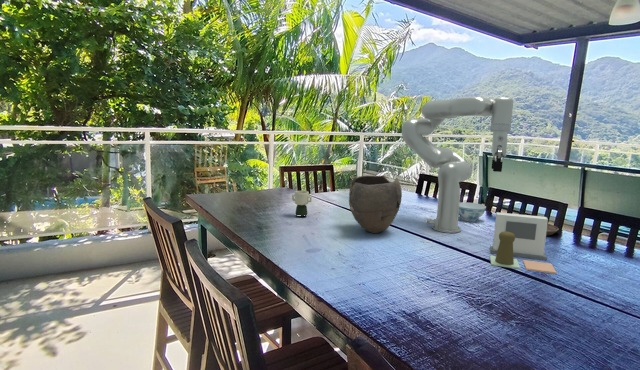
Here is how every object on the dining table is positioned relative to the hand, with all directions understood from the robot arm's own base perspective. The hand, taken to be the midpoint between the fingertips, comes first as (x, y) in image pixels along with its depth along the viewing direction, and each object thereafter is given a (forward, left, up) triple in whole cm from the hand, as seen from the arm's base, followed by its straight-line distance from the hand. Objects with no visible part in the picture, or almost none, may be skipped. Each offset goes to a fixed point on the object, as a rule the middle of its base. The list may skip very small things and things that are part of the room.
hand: (496, 170), depth 160 cm
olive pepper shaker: (+3, -28, -30) cm, 41 cm away
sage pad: (+4, -27, -30) cm, 41 cm away
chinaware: (-8, +35, -31) cm, 47 cm away
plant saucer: (+20, +26, -31) cm, 45 cm away
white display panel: (+9, -15, -30) cm, 35 cm away
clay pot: (-49, -9, -31) cm, 58 cm away
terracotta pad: (+14, -27, -30) cm, 43 cm away
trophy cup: (-89, +3, -31) cm, 94 cm away
